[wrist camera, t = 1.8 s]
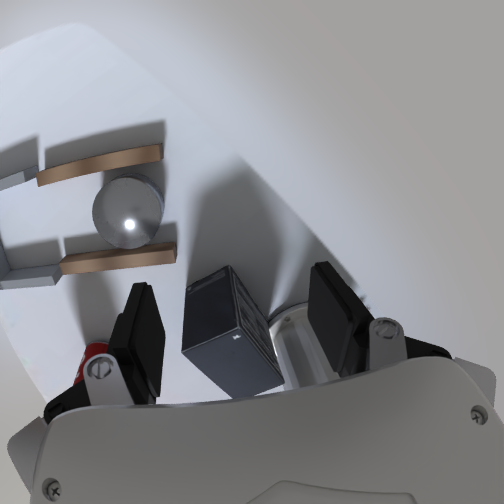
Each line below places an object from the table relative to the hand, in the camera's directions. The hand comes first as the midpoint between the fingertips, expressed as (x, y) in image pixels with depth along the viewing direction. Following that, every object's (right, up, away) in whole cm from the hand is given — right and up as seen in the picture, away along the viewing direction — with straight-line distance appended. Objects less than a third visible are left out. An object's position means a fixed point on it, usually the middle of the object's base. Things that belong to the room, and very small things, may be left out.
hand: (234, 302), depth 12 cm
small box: (-2, -5, +22) cm, 23 cm away
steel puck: (-12, +7, +15) cm, 20 cm away
